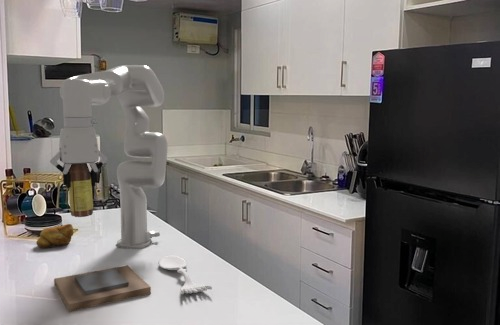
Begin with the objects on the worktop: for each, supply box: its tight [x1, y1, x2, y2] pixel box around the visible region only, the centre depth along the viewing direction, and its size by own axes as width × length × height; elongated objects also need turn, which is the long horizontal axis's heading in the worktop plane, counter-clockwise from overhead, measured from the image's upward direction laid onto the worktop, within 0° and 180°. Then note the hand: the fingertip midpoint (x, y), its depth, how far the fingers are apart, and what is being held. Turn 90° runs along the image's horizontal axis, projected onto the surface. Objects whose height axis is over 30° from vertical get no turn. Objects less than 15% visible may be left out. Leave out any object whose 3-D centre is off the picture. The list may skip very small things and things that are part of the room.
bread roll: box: [36, 223, 74, 249], centre depth 174 cm, size 13×10×8 cm
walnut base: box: [53, 264, 152, 313], centre depth 135 cm, size 22×20×3 cm
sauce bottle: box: [68, 163, 94, 218], centre depth 134 cm, size 6×6×20 cm
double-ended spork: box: [158, 254, 213, 295], centre depth 144 cm, size 9×32×4 cm, turn 24°
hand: (80, 185), depth 134 cm, fingers closed on sauce bottle, 6 cm apart
